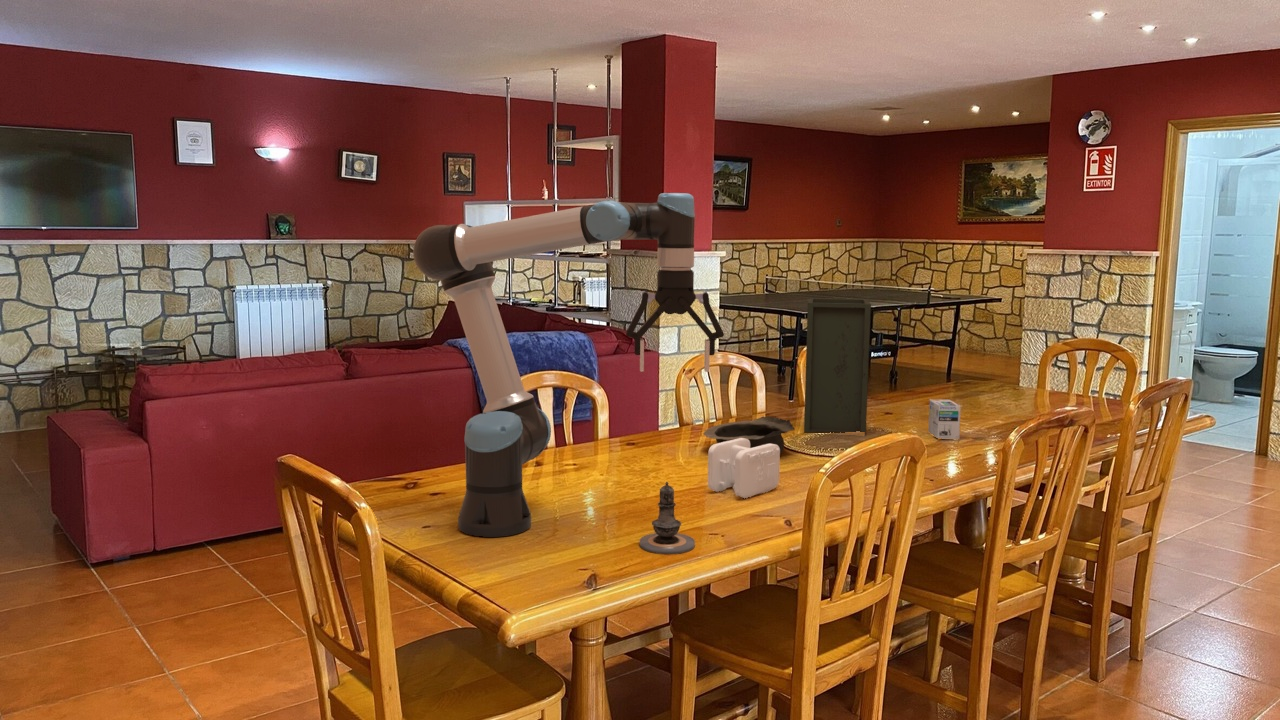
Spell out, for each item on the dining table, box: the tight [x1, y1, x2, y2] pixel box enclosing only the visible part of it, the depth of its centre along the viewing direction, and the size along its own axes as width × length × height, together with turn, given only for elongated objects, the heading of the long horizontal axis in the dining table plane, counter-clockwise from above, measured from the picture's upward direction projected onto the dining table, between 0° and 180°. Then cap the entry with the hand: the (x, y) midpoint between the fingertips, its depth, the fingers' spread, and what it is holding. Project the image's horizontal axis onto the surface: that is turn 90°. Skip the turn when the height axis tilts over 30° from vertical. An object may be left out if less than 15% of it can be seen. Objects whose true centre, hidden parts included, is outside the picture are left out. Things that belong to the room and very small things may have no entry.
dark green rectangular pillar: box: [803, 298, 872, 434], centre depth 301 cm, size 18×18×40 cm
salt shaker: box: [651, 481, 682, 545], centre depth 192 cm, size 6×6×12 cm
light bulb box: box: [927, 398, 962, 440], centre depth 293 cm, size 11×7×11 cm, turn 179°
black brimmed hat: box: [703, 416, 796, 454], centre depth 271 cm, size 25×25×9 cm
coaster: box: [639, 532, 696, 555], centre depth 193 cm, size 11×11×1 cm
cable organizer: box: [707, 438, 781, 500], centre depth 231 cm, size 15×11×12 cm
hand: (674, 371), depth 203 cm, fingers open, 13 cm apart
